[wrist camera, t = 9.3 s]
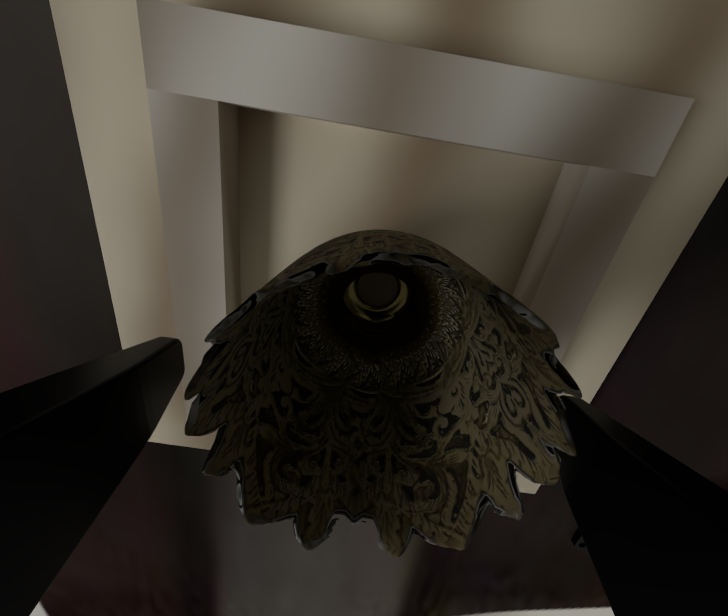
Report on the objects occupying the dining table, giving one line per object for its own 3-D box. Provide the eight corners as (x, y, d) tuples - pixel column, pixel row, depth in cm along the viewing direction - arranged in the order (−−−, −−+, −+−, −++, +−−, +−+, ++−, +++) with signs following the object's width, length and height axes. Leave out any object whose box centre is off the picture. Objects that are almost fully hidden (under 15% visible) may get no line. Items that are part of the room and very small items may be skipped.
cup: (498, 212, 12) (685, 317, 5) (442, 373, 15) (499, 579, 8) (293, 173, 12) (155, 223, 4) (280, 347, 15) (190, 537, 8)
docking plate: (804, -8, 10) (931, -53, 8) (527, 477, 20) (547, 521, 17) (45, -159, 9) (-65, -261, 7) (152, 426, 19) (122, 464, 16)
